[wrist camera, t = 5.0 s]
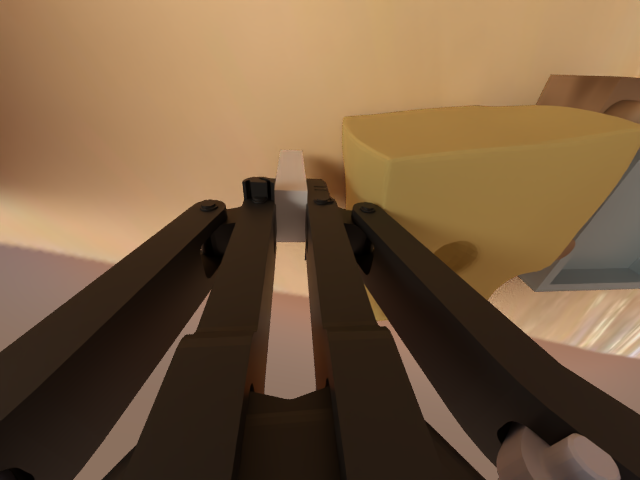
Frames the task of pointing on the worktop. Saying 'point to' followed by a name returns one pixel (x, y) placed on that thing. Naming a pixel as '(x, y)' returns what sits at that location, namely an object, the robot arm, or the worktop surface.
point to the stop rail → (594, 100)
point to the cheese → (487, 181)
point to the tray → (601, 245)
